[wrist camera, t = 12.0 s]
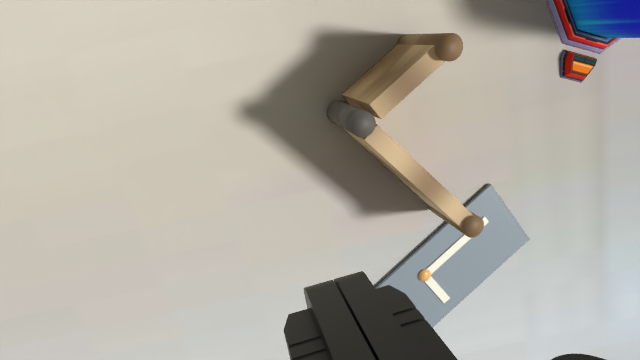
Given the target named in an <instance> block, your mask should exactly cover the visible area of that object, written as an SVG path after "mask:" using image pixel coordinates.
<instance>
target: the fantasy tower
mask: <svg viewBox="0 0 640 360" xmlns="http://www.w3.org/2000/svg"><path fill="white" fill-rule="evenodd" d="M546 2H547V5H548V8H549V10H550V13H551V16H552V18H553V21H554V24H555V26H556V29H557V32H558V34H559V37H560V40H561V43H562V44H566V45H569V46H573V47H577V48H580V49H584V50H588V51H591V52H595V53H598V54H600V53H602V52H603V51H604V50H606V49H607V48H608V47H610V46H611V45H613V44H614V43H615V42H617V41H618V40H619V39H621V38H640V0H546ZM596 61H597V59H596V58H593V57H589V56H586V55H582V54H578V53H575V52H571V51H567V50H563V52H562V55H561V58H560V77H561V78H565V79H569V80H573V81H577V82H582V81H583V80H584V79H585V78H586V76H587V75H588V74H589V73H590V71H591V70H592V69H593V68H594V66H595V64H596Z"/></svg>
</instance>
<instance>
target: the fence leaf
mask: <svg viewBox="0 0 640 360" xmlns="http://www.w3.org/2000/svg"><path fill="white" fill-rule="evenodd" d="M327 116H328V118H329V120H330V121H331V122H333V123H335V124H336V125H338V126H340V127H342V128H343V129H344V130H345V131H347V132H348V133H349V134H350V135H351V136H352V137H353V138H354V139H355V140H357V141H358V142H359V143H360V144H361V145H362V146H363V147H364V148H366V149H367V150H368V151H369V152H370V153H371V154H372V155H373V156H374V157H376V158H377V159H378V160H379V161H380V162H381V163H382V164H383V165H384V166H386V167H387V168H388V169H389V170H390V171H391V172H392V173H393V174H394V175H396V176H397V177H398V178H399V179H400V180H401V181H402V182H403V183H404V184H406V185H407V186H408V187H409V188H410V189H411V190H412V191H413V192H414V193H416V194H417V195H418V196H419V197H420V198H421V199H422V200H423V201H424V202H426V203H427V204H428V208H429V209H430V210H431V211H432V212H434V213H435V214H436V215H438V216H439V217H441V218H442V219H443V220H445V221H446V222H448V223H449V224H450V225H452V226H453V227H455V228H456V229H457V230H459V231H460V232H462V233H463V234H464V235H466V236H467V237H470V238H473V237H476V236H478V235H479V234H480V233H481V232H482V230H483V228H484V221H483V219H482V218H481V217H479V216H477V215H476V214H474V213H473V212H471V211H469V210H468V209H466V208H465V207H464V206H463V205H462V204H461V203H460V202H459V201H458V200H457V199H456V198H455V197H454V196H453V195H452V194H450V193H449V192H448V191H447V190H446V189H445V188H444V187H443V186H442V185H441V184H440V183H439V182H438V181H437V180H436V179H435V178H433V177H432V176H431V175H430V174H429V173H428V172H427V171H426V170H425V169H424V168H423V167H422V166H421V165H420V164H419V163H417V162H416V161H415V160H414V159H413V158H412V157H411V156H410V155H409V154H408V153H407V152H406V151H405V150H404V149H403V148H402V147H400V146H399V145H398V144H397V143H396V142H395V141H394V140H393V139H392V138H391V137H390V136H389V135H388V134H387V133H386V132H385V131H383V130H382V129H381V128H380V127H379V126H378V125H377V124H376V122H375V118H374V116H373V115H372V114H371V113H369V112H367V111H364V110H362V109H360V108H357V107H355V106H352V105H350V104H347V103H345V102H342V101H334V102H332V103H331V104H330V105H329V107H328V109H327Z"/></svg>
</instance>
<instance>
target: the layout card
mask: <svg viewBox="0 0 640 360" xmlns="http://www.w3.org/2000/svg"><path fill="white" fill-rule="evenodd" d="M464 207H465V208H466V209H468V210H469V211H471V212H473V213H474V214H476V215H477V216H479V217H481V218H482V219H483V221H484V228H483V230H482V232H481V233H480V234H479V235H478V236H476V237H473V238H470V237H467V236H466V235H464V234H463V233H462V232H460V231H459V230H457V229H456V228H455V227H453V226H452V225H450V224H449V223H448V222H446V223H445V224H444V225H443V226H442V227H441V228H440V229H439V230H438V231H436V232H435V233H434V234H433V235H432V236H431V237H430V238H429V239H428V240H427V241H425V242H424V243H423V244H422V245H421V246H420V247H419V248H418V249H417V250H416V251H414V252H413V253H412V254H411V255H410V256H409V257H408V258H407V259H406V260H405V261H403V262H402V263H401V264H400V265H399V266H398V267H397V268H396V269H395V270H394V271H392V272H391V273H390V274H389V275H388V276H387V277H386V278H385V279H384V280H383V281H381V282H380V283H379V284H378V285H377V286H376V287H375V289H377V288H380V287H383V286H387V285H390V286H392V287H394V288H396V289H398V290H400V291H402V292H403V293H405V294H406V295H407V296H408V297H409V299H410V300H411V301H412V302H413V304H414V305H415V306H416V309H418V310H419V311H420V313H421V314H422V315H423V316H424V319H425V320H427V322H428V323H429V324H430V325H431V327H432V328H433V327H434V326H435V325H436V324H437V323H438V322H439V321H440V320H441V319H442V318H444V317H445V316H446V315H447V314H448V313H449V312H450V311H451V310H452V309H453V308H455V307H456V306H457V305H458V304H459V303H460V302H461V301H462V300H463V299H464V298H466V297H467V296H468V295H469V294H470V293H471V292H472V291H473V290H474V289H475V288H477V287H478V286H479V285H480V284H481V283H482V282H483V281H484V280H485V279H486V278H488V277H489V276H490V275H491V274H492V273H493V272H494V271H495V270H496V269H497V268H499V267H500V266H501V265H502V264H503V263H504V262H505V261H506V260H507V259H508V258H510V257H511V256H512V255H513V254H514V253H515V252H516V251H517V250H518V249H519V248H521V247H522V246H523V245H524V244H525V243H526V242H527V241H528V240H529V237H528V236H527V235H526V233H525V232H524V230H523V229H522V227H521V226H520V225H519V223H518V222H517V220H516V219H515V218H514V216H513V215H512V213H511V212H510V210H509V209H508V208H507V206H506V205H505V203H504V202H503V201H502V199H501V198H500V196H499V195H498V193H497V192H496V191H495V189H494V188H493V186H492V185H491V184H488V185H487V186H486V187H485V188H484V189H483V190H482V191H481V192H479V193H478V194H477V195H476V196H475V197H474V198H473V199H472V200H471V201H470V202H468V203H467V204H466V205H465V206H464Z"/></svg>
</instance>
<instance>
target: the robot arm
mask: <svg viewBox="0 0 640 360" xmlns="http://www.w3.org/2000/svg"><path fill="white" fill-rule="evenodd" d="M304 294H305V299H306V303H307V308H308V309H306V310H302V311H299V312H295V313H292V314H289V315H288V318H287V321H286V325H285V328H284V334H285V338H286V342H287V346H288V351H289V355H290V359H291V360H457V359H456V357H455V356H454V355H453V353H452V352H451V351H450V350H449V348H448V347H447V346H446V344H445V343H444V342H443V341H442V339H441V338H440V337H439V336H438V334H437V333H436V332H435V330H434V329H433V328H432V327H431V325H430V324H429V323H428V322H427V320H425V319H424V316H423V315H422V314H421V313H420V311H419V310H418V309H416V306H415V305H414V304H413V302H412V301H411V300H410V299H409V297H408V296H407V295H406V294H405V293H403V292H402V291H400V290H398V289H396V288H394V287H392V286H390V285H387V286H383V287H380V288H377V289H375V288H374V286H373V285H372V283H371V282H370V280H369V279H368V277H367V276H366V274H365V273H364V272H363V271H361V272H358V273H354V274H351V275H347V276H344V277H340V278H337V279H334V281H333V280H330V281H327V282H323V283H320V284H316V285H313V286H309V287H306V288H304ZM552 360H605V359H602V358H598V357H595V356H590V355H584V354H565V355H561V356H558V357H555V358H553V359H552Z"/></svg>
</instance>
